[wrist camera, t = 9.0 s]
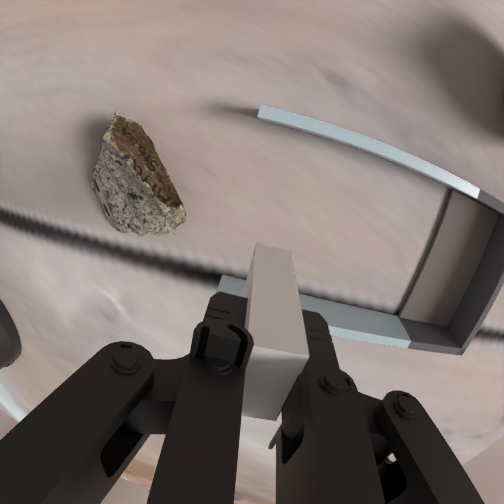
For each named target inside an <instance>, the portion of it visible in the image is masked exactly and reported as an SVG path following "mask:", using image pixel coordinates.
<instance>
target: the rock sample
mask: <svg viewBox="0 0 504 504" xmlns="http://www.w3.org/2000/svg"><path fill="white" fill-rule="evenodd" d="M120 113H121V112H120ZM113 114H114V115H115V116H114V119H113V120H112V121H111V123H110V126H109V127H108V128H107V130H106V132H105V134H104V136H103V137H102V141H101V149H100V153H99V156H98V159H97V162H96V165H95V168H94V171H93V180H92V182H91V186H92V188H93V189H94V191H95V193H96V196H97V197H98V198H99V200H100V202H101V204H102V208H103V210H104V212H105V216H106V219H107V220H108V221H109V222H110V223H111V224H112V226H113V227H114V228H115V229H116V230H118V231H120V232H124V233H126V232H135V233H137V234H138V235H140V236H143V235H145V234H146V233H148V232H149V233H151V234H154V235H163V234H164V233H168V232H170V231H171V230H173V229H175V228H176V227H177V226H178V225H180V224H182V223H184V222H185V220H186V213H185V211H184V206H183V203H182V202H181V200H180V198H179V196H178V193H177V191H176V189H175V187H174V185H173V183H172V182H171V180H170V178H169V175H168V174H167V172H166V169H165V167H164V166H163V164H162V162H161V161H160V158H159V156H158V154H157V153H156V151H155V147H154V144H153V142H152V140H151V139H150V138H149V136H146V133H145V132H144V130H143V128H142V126H141V125H139V124H138V123H136V122H135V121H132V120H130V119H125V118H124V117H122V116H119V115H118V112H117V111H114V113H113ZM174 235H175V234H174Z"/></svg>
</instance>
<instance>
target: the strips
mask: <svg viewBox="0 0 504 504" xmlns="http://www.w3.org/2000/svg"><path fill="white" fill-rule="evenodd" d="M257 117H258V118H259V119H260V120H263V121H267V122H271V123H275V124H279V125H283V126H286V127H290V128H294V129H297V130H301V131H304V132H308V133H311V134H314V135H318V136H321V137H324V138H327V139H330V140H334V141H337V142H340V143H343V144H346V145H348V146H351V147H354V148H357V149H360V150H363V151H365V152H368V153H371V154H374V155H376V156H379V157H381V158H384V159H387V160H389V161H392V162H394V163H397V164H399V165H401V166H404V167H406V168H409V169H411V170H413V171H416V172H418V173H420V174H422V175H425V176H427V177H429V178H431V179H434V180H436V181H438V182H440V183H442V184H444V185H446V186H448V187H450V188H453V189H455V190H458V191H460V192H462V193H465V194H467V195H469V196H472V197H474V198H476V199H477V197H478V194H479V191H480V189H479V188H477V187H475V186H474V185H472V184H470V183H468V182H466V181H464V180H463V179H461V178H459V177H457V176H455V175H453V174H451V173H449V172H447V171H445V170H443V169H441V168H439V167H437V166H435V165H433V164H431V163H429V162H426V161H424V160H422V159H420V158H418V157H415V156H413V155H411V154H409V153H406V152H404V151H402V150H399V149H397V148H395V147H392V146H390V145H387V144H385V143H382V142H380V141H377V140H375V139H372V138H369V137H367V136H364V135H361V134H358V133H356V132H353V131H350V130H347V129H344V128H341V127H338V126H335V125H332V124H329V123H326V122H323V121H320V120H316V119H313V118H310V117H306V116H303V115H299V114H296V113H292V112H288V111H285V110H281V109H277V108H273V107H269V106H265V105H260V108H259V112H258V116H257ZM245 283H246V280H242V279H239V278H235V277H231V276H227V275H222V278H221V280H220V283H219V286H218V289H217V291H216V293H217V292H219V291H220V292H224V293H228V294H232V295H237V296H241V297H242V294H243V291H244V287H245ZM299 298H300V304H301V309H303V310H308V311H312V312H317V313H320V314H321V316H322V317H323V318H324V319H325V321H326V322H327V324H328V327H329V331H330V335H335V336H340V337H345V338H351V339H356V340H362V341H367V342H373V343H379V344H385V345H391V346H397V347H403V348H408V346H409V344H410V343H411V339H410V337H409V336H408V334H407V332H406V330H405V328H404V327H403V325H402V323H401V321H400V319H399V318H398V316H396V315H391V314H386V313H382V312H377V311H373V310H368V309H364V308H359V307H355V306H350V305H346V304H342V303H337V302H333V301H329V300H324V299H320V298H316V297H312V296H307V295H303V294H299Z"/></svg>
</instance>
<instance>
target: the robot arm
mask: <svg viewBox="0 0 504 504" xmlns="http://www.w3.org/2000/svg"><path fill="white" fill-rule="evenodd" d="M20 354H21V342H20V338H19V335H18V332H17V329H16V327H15V325H14V323H13V321H12V319H11V317H10V315H9V313H8V312H7V310H6V308H5V307H4V305H3V304H2V302H1V301H0V369H2V368H3V367H8V366H10V365H12V364H13V363H14V362H15V361H16V359H17V358H18V357H19V356H20ZM281 410H282V424H281V425H280V427H279V429H278V430H277V432H276V434H275V435H274V437H273V438H272V440H271V442H270V444H269V448H268V449H272V448H273V447H274V445H275V444H276V504H484V502H483V500H482V499H481V497H480V495H479V493H478V492H477V490H476V489H475V487H474V485H473V483H472V482H471V480H470V479H469V477H468V475H467V474H466V472H465V470H464V469H463V467H462V466H461V464H460V462H459V461H458V459H457V458H456V456H455V455H454V453H453V451H452V450H451V448H450V447H449V445H448V444H447V442H446V441H445V439H444V438H443V436H442V434H441V433H440V431H439V430H438V428H437V427H436V425H435V424H434V422H433V421H432V419H431V418H430V417H429V415H428V414H427V412H426V411H425V409H424V408H423V406H422V405H421V403H420V402H419V401H418V400H417V399H416V398H415V397H413V396H412V395H410V394H409V393H406V392H403V391H391V392H389V393H387V394H386V396H385V397H384V398H383V400H379V399H376V398H373V397H370V396H368V395H365V394H362V393H360V392H358V391H357V387H356V385H355V383H354V381H353V379H352V378H351V377H350V376H349V375H348V374H347V373H345V372H343V371H342V370H340V368H339V364H338V360H337V357H336V353H335V349H334V345H333V342H332V338H331V335H330V331H329V327H328V324H327V322H326V321H325V319H324V318H323V317H322V316H321V314H320V313H317V312H312V311H308V310H303V309H301V304H300V298H299V293H298V287H297V282H296V276H295V271H294V266H293V261H292V255H291V251H287V250H283V249H279V248H275V247H271V246H267V245H263V244H259V243H256V246H255V250H254V254H253V257H252V261H251V265H250V268H249V272H248V276H247V280H246V283H245V287H244V291H243V294H242V297H241V296H237V295H232V294H228V293H224V292H220V291H219V292H217V293H216V294H215V295H213V296H212V297H211V298H210V300H209V304H208V307H207V310H206V313H205V316H204V319H203V322H201V323H199V324H198V325H197V326H196V328H195V329H194V333H193V338H192V344H191V350H190V353H189V354H188V355H186V356H184V357H181V358H178V359H170V360H162V359H154V358H153V357H152V355H151V354H150V352H149V351H148V350H147V349H145V348H144V347H142V346H141V345H138V344H135V343H133V342H124V341H119V342H114V343H110V344H108V345H107V346H105V347H103V348H102V349H101V350H100V351H98V352H97V353H96V354H95V355H94V356H93V357H92V358H90V359H89V360H88V361H87V362H86V363H85V364H84V365H82V366H81V367H80V368H79V369H78V370H77V371H76V372H75V373H73V374H72V375H71V376H70V377H69V378H68V379H67V380H66V381H64V382H63V383H62V384H61V385H60V386H59V387H58V388H57V389H56V390H54V391H53V392H52V393H51V394H50V395H49V396H48V397H47V398H46V399H44V400H43V401H42V402H41V403H40V404H39V405H38V406H37V407H36V408H35V409H33V410H32V411H31V412H30V413H29V414H28V415H27V416H26V417H25V418H24V419H23V420H22V421H20V422H19V423H18V424H17V425H16V426H15V427H14V428H13V429H12V430H11V431H10V432H9V433H8V434H7V435H5V436H4V437H3V438H2V439H1V440H0V504H100V503H101V502H102V500H103V499H104V498H105V496H106V495H107V494H108V492H109V491H110V489H111V488H112V487H113V485H114V484H115V483H116V481H117V480H118V479H119V477H120V476H121V474H122V473H123V472H124V470H125V469H126V468H127V466H128V465H129V463H130V462H131V461H132V459H133V458H134V457H135V455H136V454H137V452H138V451H139V450H140V448H141V447H142V445H143V444H144V443H145V441H146V440H147V438H148V437H149V436H150V434H166V436H165V439H164V443H163V446H162V450H161V453H160V457H159V460H158V464H157V467H156V471H155V475H154V478H153V482H152V486H151V489H150V493H149V497H148V500H147V504H234V493H235V482H236V471H237V460H238V449H239V438H240V426H241V415H242V416H248V417H254V418H260V419H267V420H273V421H276V420H277V418H278V416H279V414H280V412H281ZM392 452H393V454H394V456H395V458H396V461H395V462H392V461H390V460H389V459H388V456H389V455H390V454H391V453H392Z"/></svg>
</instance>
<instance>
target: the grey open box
mask: <svg viewBox="0 0 504 504" xmlns="http://www.w3.org/2000/svg"><path fill="white" fill-rule="evenodd" d="M452 189H453V188H452ZM452 189H451V191H450V194H449V197H448V200H447V203H446V206H445V209H444V212H443V215H442V217H441V220H440V223H439V226H438V228H437V231H436V233H435V236H434V238H433V241H432V243H431V246H430V248H429V251H428V253H427V255H426V258H425V260H424V262H423V264H422V267H421V269H420V271H419V273H418V276H417V278H416V280H415V282H414V284H413V286H412V288H411V290H410V292H409V294H408V296H407V298H406V300H405V302H404V304H403V306H402V308H401V310H400V312H399V314H398V318H399V319H400V321H401V323H402V325H403V327H404V328H405V330H406V332H407V334H408V336H409V337H410V339H411V343H410V344H409V346H408V348H410V349H417V350H424V351H431V352H438V353H446V354H454V355H463V353H464V352H465V350H466V349H467V347H468V346H469V344H470V342H471V341H472V339H473V338H474V336H475V334H476V333H477V331H478V330H479V328H480V326H481V324H482V323H483V321H484V319H485V318H486V316H487V314H488V312H489V310H490V309H491V307H492V305H493V303H494V301H495V299H496V297H497V295H498V293H499V291H500V289H501V287H502V285H503V283H504V203H503V202H501V201H499V200H498V199H496V198H494V197H493V196H491V195H489V194H488V193H486V192H484V191H483V190H481V189H480V191H479V194H478V197H477V199H476V198H474V197H472V196H469V195H467V194H465V193H462V192H460V191H459V192H460V193H462V194H464V195H466V196H468V197H470V198H472V199H474V200H476V201H478V202H480V203H481V204H483V205H485V206H487V207H489V208H491V209H492V210H494V211H496V212H497V213H496V212H494V211H492V210H491V209H489V208H487V207H485V206H483V205H481V204H480V203H478V202H476V201H474V200H472V199H470V198H468V197H466V196H464V195H462V194H460V193H458V192H456V191H454V190H455V189H454V190H452ZM457 191H458V190H457Z"/></svg>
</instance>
